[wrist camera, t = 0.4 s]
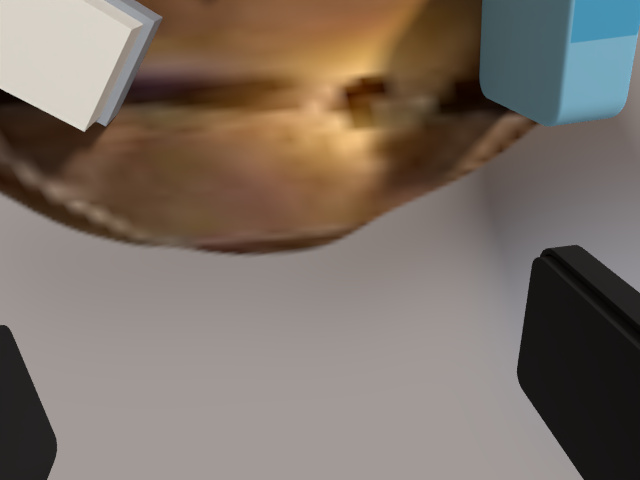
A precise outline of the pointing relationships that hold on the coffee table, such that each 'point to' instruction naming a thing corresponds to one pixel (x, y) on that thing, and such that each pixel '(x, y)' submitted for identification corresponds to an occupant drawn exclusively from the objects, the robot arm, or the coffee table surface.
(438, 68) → the coffee table surface
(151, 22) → the tower base
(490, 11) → the data package
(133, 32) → the tower top
